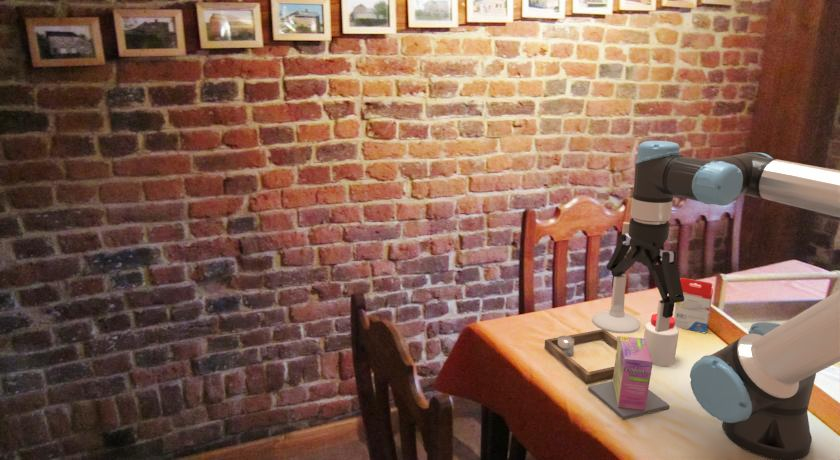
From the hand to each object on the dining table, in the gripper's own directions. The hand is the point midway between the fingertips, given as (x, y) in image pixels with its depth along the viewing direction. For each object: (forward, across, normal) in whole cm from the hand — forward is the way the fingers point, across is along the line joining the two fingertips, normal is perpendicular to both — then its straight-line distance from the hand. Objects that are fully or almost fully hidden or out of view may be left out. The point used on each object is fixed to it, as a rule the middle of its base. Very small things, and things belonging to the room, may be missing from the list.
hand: (638, 316), depth 121 cm
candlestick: (+20, +32, -22) cm, 44 cm away
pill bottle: (+20, +12, -19) cm, 30 cm away
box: (+19, 0, 0) cm, 19 cm away
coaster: (+20, 0, 0) cm, 20 cm away
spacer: (+20, +22, +2) cm, 30 cm away
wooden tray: (+20, +17, -4) cm, 27 cm away
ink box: (+20, +23, -40) cm, 50 cm away
